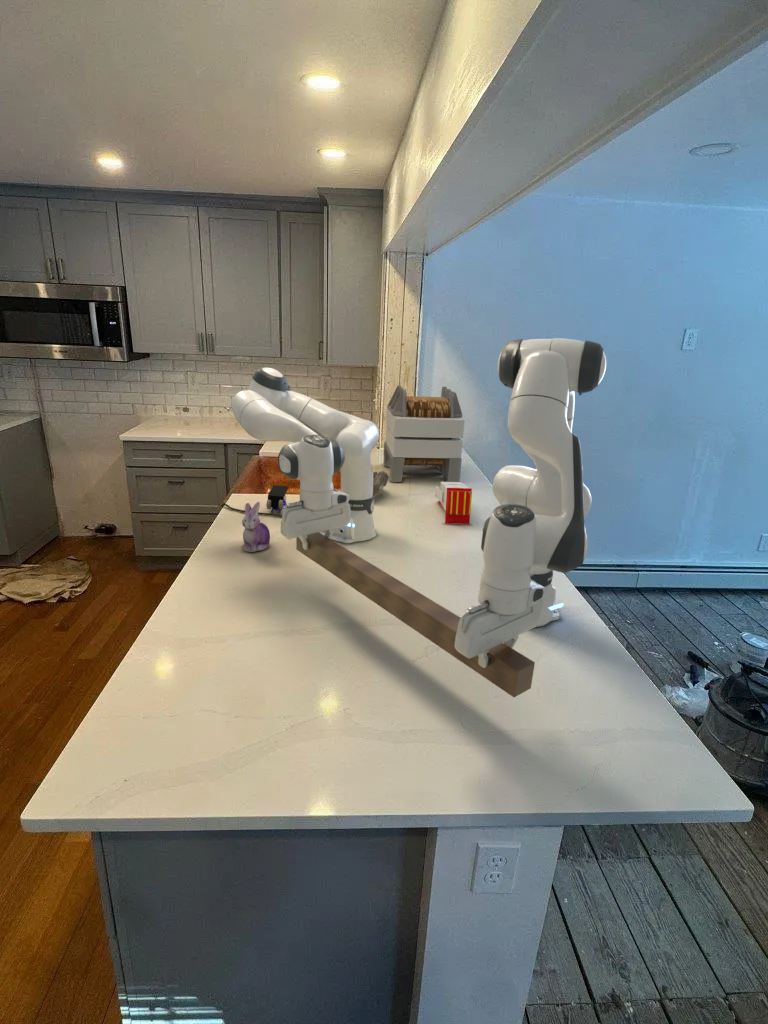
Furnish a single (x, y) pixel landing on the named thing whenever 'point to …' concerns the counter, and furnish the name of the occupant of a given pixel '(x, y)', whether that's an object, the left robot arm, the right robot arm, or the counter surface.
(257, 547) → the figurine
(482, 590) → the right robot arm
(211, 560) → the counter surface
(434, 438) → the white boxy stand
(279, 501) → the figurine character
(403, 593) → the beam
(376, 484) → the fossil
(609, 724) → the counter surface
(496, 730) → the counter surface
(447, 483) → the red striped box
